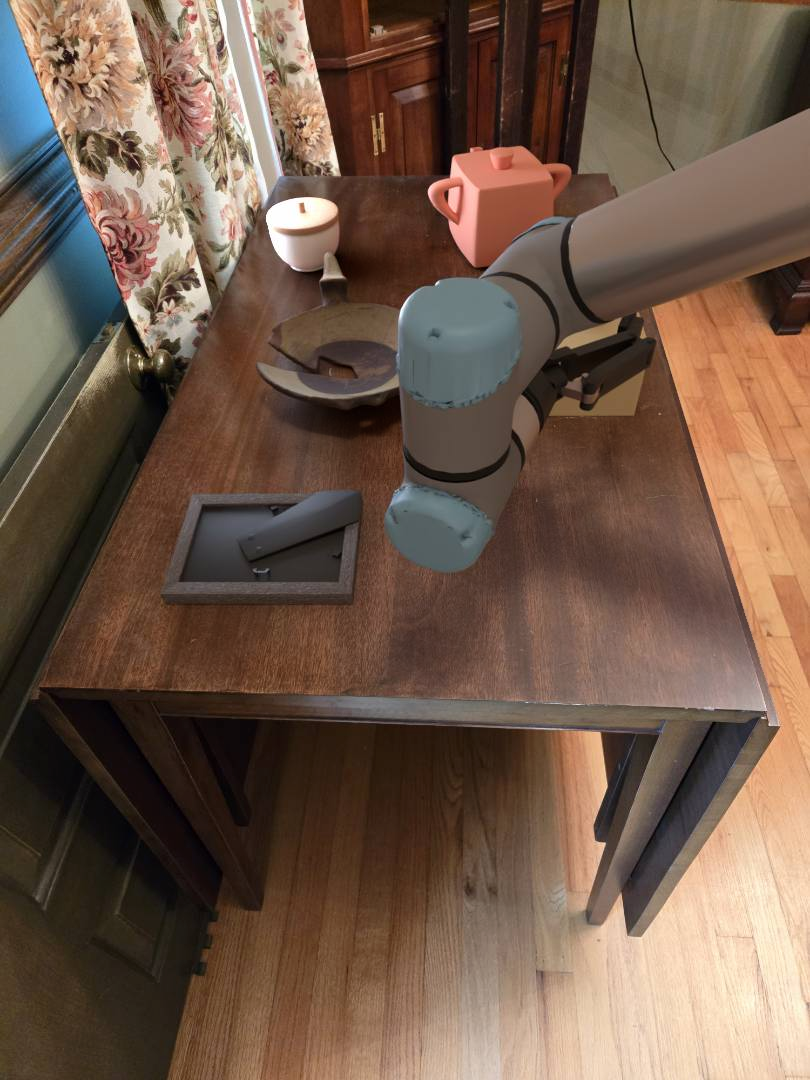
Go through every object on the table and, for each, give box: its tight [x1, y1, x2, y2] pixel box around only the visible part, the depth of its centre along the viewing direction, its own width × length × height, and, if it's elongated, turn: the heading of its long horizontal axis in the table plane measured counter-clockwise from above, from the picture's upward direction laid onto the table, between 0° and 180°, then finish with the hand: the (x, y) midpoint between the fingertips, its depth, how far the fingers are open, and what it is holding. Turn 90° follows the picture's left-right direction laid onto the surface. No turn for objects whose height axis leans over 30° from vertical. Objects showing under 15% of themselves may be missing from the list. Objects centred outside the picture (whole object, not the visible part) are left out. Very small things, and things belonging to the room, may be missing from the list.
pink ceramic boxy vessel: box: [427, 145, 573, 268], centre depth 110 cm, size 20×22×14 cm
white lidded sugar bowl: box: [265, 196, 341, 273], centre depth 109 cm, size 11×11×9 cm
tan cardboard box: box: [548, 312, 647, 417], centre depth 86 cm, size 14×16×10 cm
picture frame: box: [159, 489, 364, 605], centre depth 72 cm, size 13×2×18 cm
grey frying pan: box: [255, 252, 401, 411], centre depth 91 cm, size 22×30×8 cm
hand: (566, 292), depth 73 cm, fingers open, 13 cm apart
